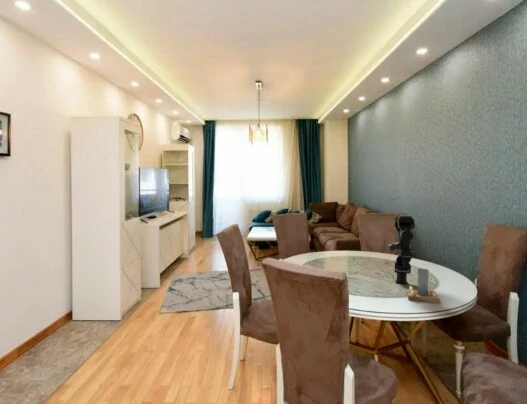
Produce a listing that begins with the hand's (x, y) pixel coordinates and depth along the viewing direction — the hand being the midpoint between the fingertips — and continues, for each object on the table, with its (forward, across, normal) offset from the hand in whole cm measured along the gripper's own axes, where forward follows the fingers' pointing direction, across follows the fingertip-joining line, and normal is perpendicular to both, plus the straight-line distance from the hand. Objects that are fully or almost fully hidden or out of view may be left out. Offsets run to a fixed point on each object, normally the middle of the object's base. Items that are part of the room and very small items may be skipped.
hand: (404, 266), depth 179 cm
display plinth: (+13, +11, +8) cm, 19 cm away
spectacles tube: (+11, +12, +8) cm, 18 cm away
